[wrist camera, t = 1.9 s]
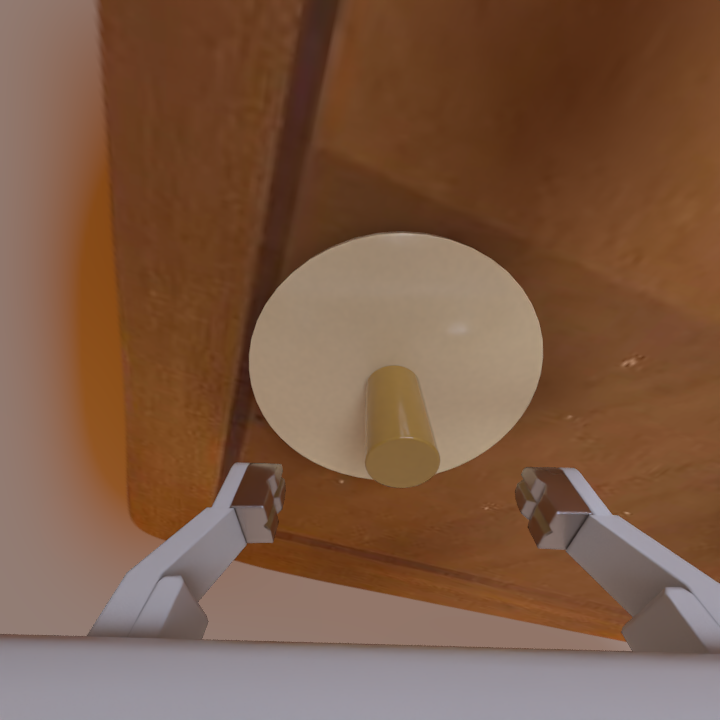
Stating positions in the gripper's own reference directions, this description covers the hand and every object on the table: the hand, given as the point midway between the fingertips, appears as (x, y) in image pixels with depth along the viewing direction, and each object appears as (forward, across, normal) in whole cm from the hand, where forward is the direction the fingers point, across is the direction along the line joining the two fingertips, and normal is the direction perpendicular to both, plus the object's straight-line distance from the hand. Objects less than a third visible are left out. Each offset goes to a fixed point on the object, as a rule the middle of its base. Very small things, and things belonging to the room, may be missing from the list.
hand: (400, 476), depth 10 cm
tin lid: (+5, 0, 0) cm, 5 cm away
